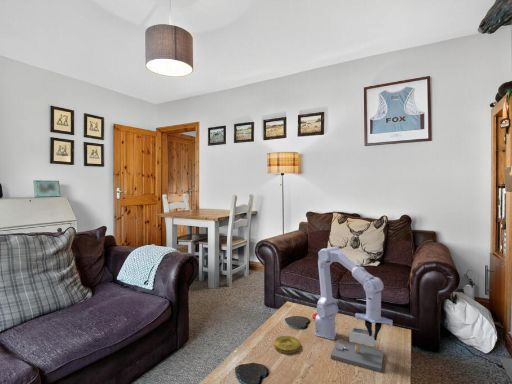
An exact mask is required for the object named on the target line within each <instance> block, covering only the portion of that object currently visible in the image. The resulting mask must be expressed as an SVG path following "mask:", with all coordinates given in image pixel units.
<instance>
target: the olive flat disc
mask: <svg viewBox="0 0 512 384" xmlns="http://www.w3.org/2000/svg"><path fill="white" fill-rule="evenodd" d="M273 344H274V348H275V350H276V351H278V352H279V353H280V352H281V354H283V353H286V354H285V355H287V354H293V353H296V352H300V350H301V342H300V340H299V339H298V338H296V337H295V336H291V335H282V336H277V338H275V339H274V341H273Z"/></svg>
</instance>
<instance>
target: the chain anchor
mask: <svg viewBox="0 0 512 384" xmlns="http://www.w3.org/2000/svg"><path fill="white" fill-rule="evenodd" d="M343 349H345V350H348V348H347V347H344V345H342V344H338V343H337V346H336V350H339V351H343Z"/></svg>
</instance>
